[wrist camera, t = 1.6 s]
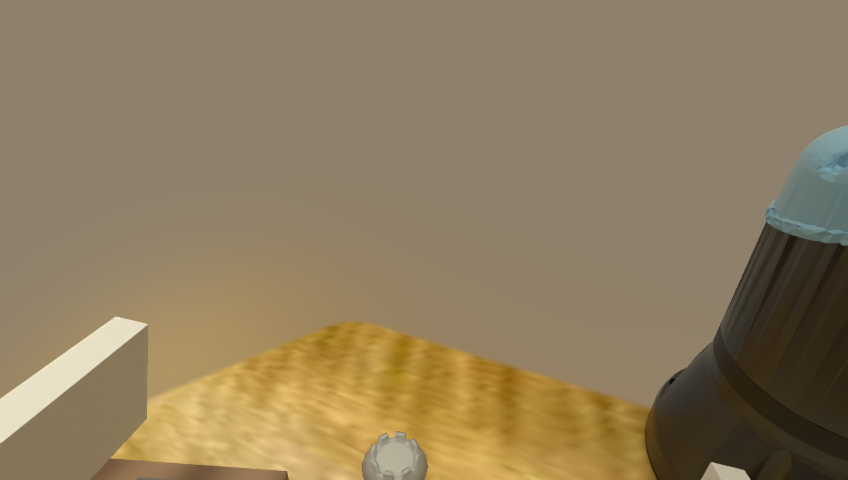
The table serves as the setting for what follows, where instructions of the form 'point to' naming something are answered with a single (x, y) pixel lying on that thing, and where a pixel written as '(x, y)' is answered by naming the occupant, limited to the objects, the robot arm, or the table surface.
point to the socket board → (180, 472)
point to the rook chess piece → (394, 459)
